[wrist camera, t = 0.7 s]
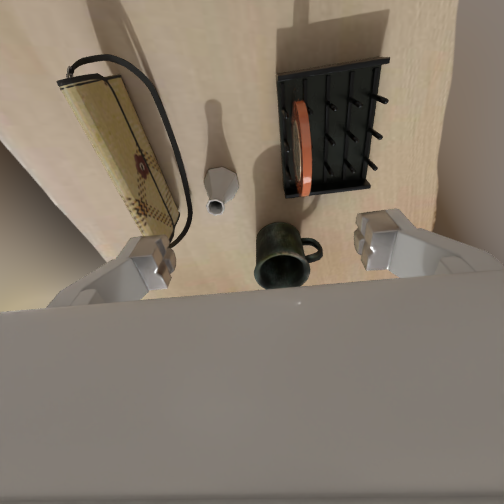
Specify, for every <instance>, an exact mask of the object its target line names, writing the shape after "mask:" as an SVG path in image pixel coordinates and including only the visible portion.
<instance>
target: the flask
mask: <svg viewBox="0 0 504 504" xmlns="http://www.w3.org/2000/svg"><path fill="white" fill-rule="evenodd" d="M204 185H205V188H206V192H207V195H208V197H209V201H208V203H207V205H206V207H207V210H208V213H211V214H213V215H221V214H222V213H223V211H224V209H225V207H224V204H225V203H227V202H228V201H230V200H232V199H233V198H234V196H235V194H236V192H237V190H238V188H239V184H238V180H237V175H236V173H234V172H232V171H230V170H228V169H226V168H224V167H220V168H214V169H209V170H208V172H207V175H206V177H205V180H204Z"/></svg>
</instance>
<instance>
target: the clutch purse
mask: <svg viewBox="0 0 504 504" xmlns="http://www.w3.org/2000/svg"><path fill="white" fill-rule="evenodd" d="M97 61H112V62H115V63H117V64H120V65H122V66H124V67H126V68H127V69H129V70H130V71H132V72H133V73H134V74H135V75H137V76H138V77H139V78H140V79H141V80H142V81H143V82H144V83H145V85H146V86H147V87H148V89H149V90H150V92H151V94H152V96H153V98H154V101H155V103H156V105H157V108H158V110H159V113H160V115H161V118H162V120H163V123H164V125H165V128H166V131H167V133H168V136H169V139H170V141H171V144H172V147H173V150H174V153H175V156H176V160H177V163H178V167H179V170H180V174H181V178H182V182H183V186H184V191H185V196H186V201H187V207H188V218H187V222H186V225H185V227H184V229H183V231H182V233H181V234H180V235H179V236H178V238H177V239H176V240H175V241H173V242H172V243H171V241H172V239H173V237H174V230H175V226H176V224H177V222H178V220H179V217H180V212H178V210H177V207H176V205H175V203H174V201H173V198H172V196H171V194H170V191H169V189H168V187H167V184H166V182H165V180H164V177H163V175H162V173H161V170H160V168H159V166H158V163H157V161H156V159H155V156H154V154H153V152H152V149H151V147H150V145H149V142H148V140H147V138H146V135H145V133H144V131H143V128H142V126H141V124H140V121H139V119H138V117H137V114H136V112H135V110H134V107H133V105H132V103H131V100H130V98H129V96H128V93H127V91H126V89H125V86H124V84H123V82H122V79H121V75H119V74H118V75H113V76H108V77H103V76H101V75H100V74H98V73H96V74H88V75H82V76H76V77H73V73H74V70H75V69H76V68H77V67H79V66H81V65H83V64H87V63H92V62H97ZM67 75H68V78H67V79H62V80H59V81H57V84H58V86H59V87H60V90H61V91H62V92H63V94H64V96H65V98H66V100H67V101H68V103H69V105H70V107H71V108H72V110H73V112H74V114H75V116H76V117H77V119H78V121H79V123H80V124H81V126H82V128H83V130H84V132H85V133H86V135H87V137H88V139H89V140H90V142H91V144H92V146H93V148H94V149H95V151H96V153H97V155H98V157H99V158H100V160H101V162H102V164H103V165H104V167H105V169H106V171H107V173H108V174H109V176H110V178H111V180H112V181H113V183H114V185H115V187H116V189H117V190H118V192H119V194H120V196H121V198H122V199H123V201H124V203H125V205H126V206H127V208H128V210H129V212H130V214H131V215H132V217H133V219H134V221H135V222H136V224H137V226H138V228H139V230H140V231H141V233H142V235H143V236H151V235H163V234H165V235H166V236H167V237H168V239H169V241H170V243H171V244H169V248H172V247H174V246H175V245H176V244H178V243H179V242H180V241H181V240H182V239H183V237H184V236H185V235H186V233H187V231H188V229H189V227H190V225H191V221H192V214H193V211H192V203H191V198H190V193H189V188H188V183H187V178H186V174H185V170H184V166H183V163H182V159H181V156H180V152H179V149H178V146H177V143H176V140H175V137H174V135H173V132H172V129H171V126H170V124H169V121H168V118H167V116H166V113H165V111H164V108H163V106H162V103H161V101H160V98H159V96H158V94H157V91H156V89H155V88H154V86H153V84H152V83H151V82H150V80H149V79H148V78H147V77H146V76H145V75H144V74H143V73H142V72H141V71H140V70H139V69H137V68H136V67H135V66H134V65H132V64H131V63H129V62H128V61H126V60H124V59H122V58H119V57H117V56H114V55H109V54H104V55H95V56H89V57H85V58H82V59H79V60H78V61H76V62H75V63H74V64H73V65H72V66H71V67H70V66H69V67H68V68H67V74H66V77H67ZM69 76H70V78H69Z"/></svg>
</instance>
